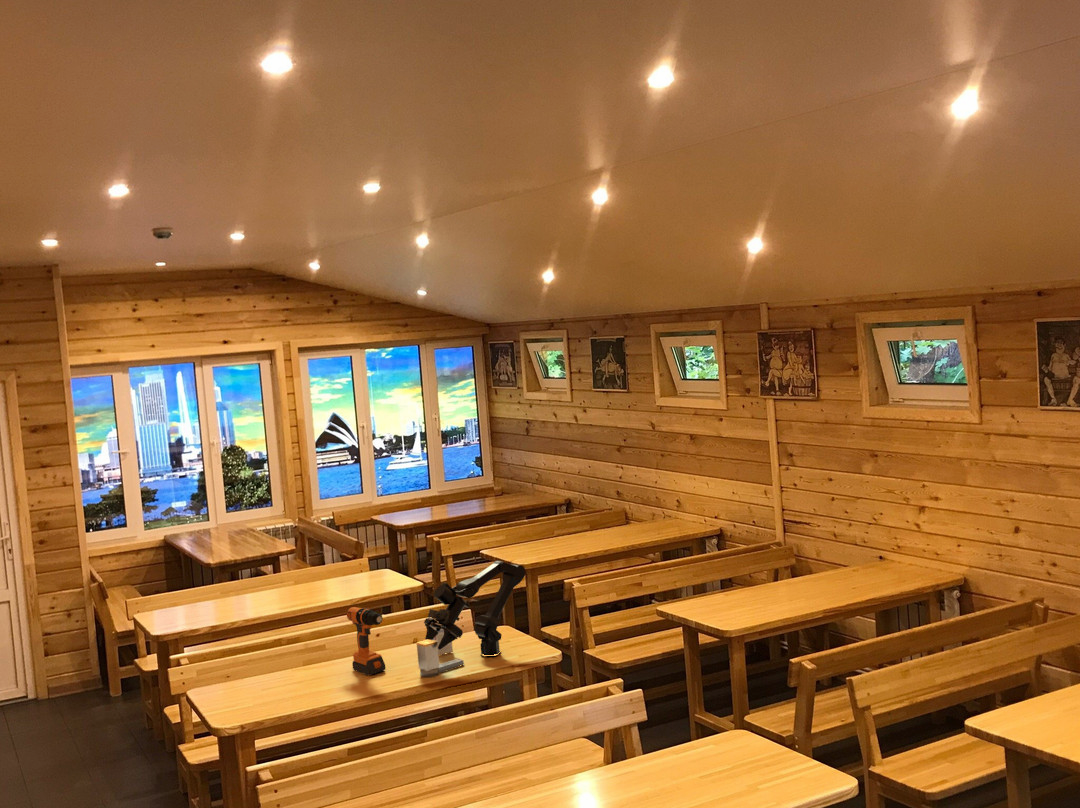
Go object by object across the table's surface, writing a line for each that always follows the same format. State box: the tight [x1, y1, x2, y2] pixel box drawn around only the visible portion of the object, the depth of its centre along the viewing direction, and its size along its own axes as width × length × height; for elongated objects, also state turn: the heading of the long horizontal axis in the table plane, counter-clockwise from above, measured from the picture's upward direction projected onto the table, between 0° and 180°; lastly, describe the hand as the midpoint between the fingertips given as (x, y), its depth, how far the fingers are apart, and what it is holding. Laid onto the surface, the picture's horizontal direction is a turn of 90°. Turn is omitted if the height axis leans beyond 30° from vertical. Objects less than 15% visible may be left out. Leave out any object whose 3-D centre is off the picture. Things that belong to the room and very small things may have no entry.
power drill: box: [346, 606, 386, 676], centre depth 397 cm, size 22×7×25 cm, turn 41°
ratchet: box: [419, 658, 465, 678], centre depth 391 cm, size 18×7×5 cm, turn 130°
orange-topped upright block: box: [416, 639, 440, 671], centre depth 388 cm, size 6×6×10 cm
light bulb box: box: [433, 629, 454, 656], centre depth 417 cm, size 11×7×11 cm, turn 25°
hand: (431, 646), depth 389 cm, fingers open, 9 cm apart
